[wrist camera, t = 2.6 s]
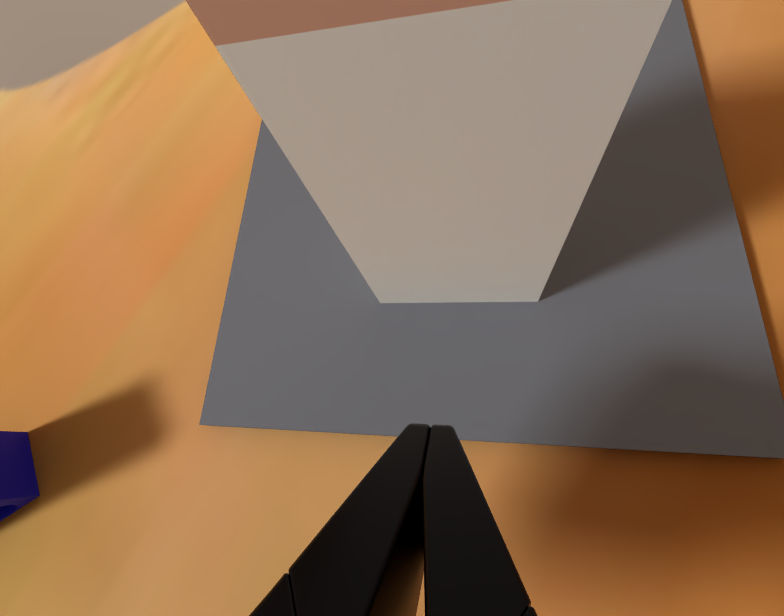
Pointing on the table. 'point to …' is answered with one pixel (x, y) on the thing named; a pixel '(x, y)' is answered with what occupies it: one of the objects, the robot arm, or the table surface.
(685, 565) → the table surface
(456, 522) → the robot arm
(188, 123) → the table surface
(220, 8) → the cream block
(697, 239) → the rubber mat
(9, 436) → the cable clip
